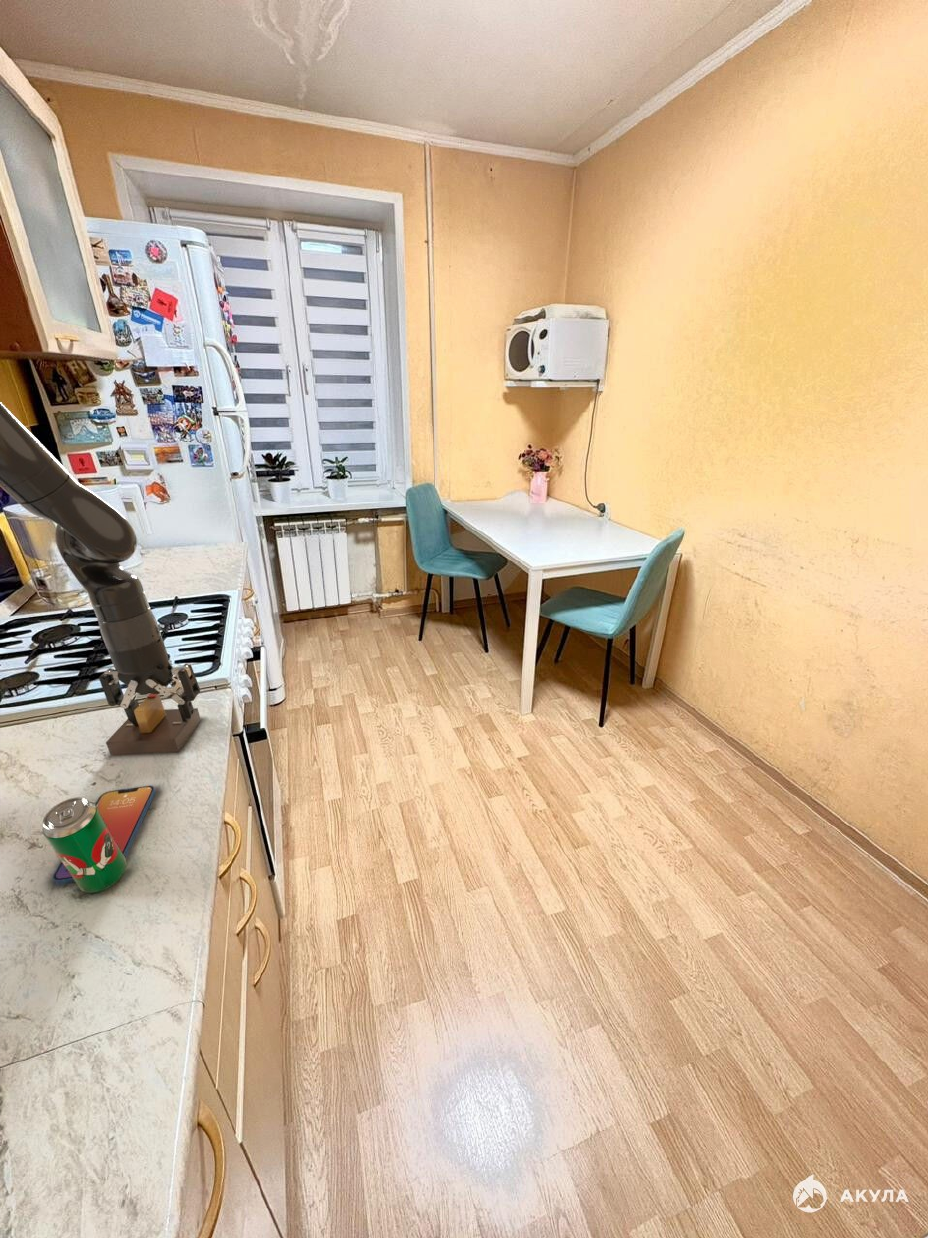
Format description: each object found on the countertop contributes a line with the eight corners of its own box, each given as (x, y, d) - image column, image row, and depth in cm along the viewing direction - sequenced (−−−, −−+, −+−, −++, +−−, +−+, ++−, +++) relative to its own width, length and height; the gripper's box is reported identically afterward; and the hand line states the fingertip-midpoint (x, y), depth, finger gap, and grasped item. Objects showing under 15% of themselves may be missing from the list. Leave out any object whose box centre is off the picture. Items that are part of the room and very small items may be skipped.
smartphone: (51, 888, 61) (48, 882, 60) (103, 797, 74) (101, 792, 74) (118, 876, 62) (116, 871, 62) (158, 789, 75) (156, 784, 75)
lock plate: (111, 757, 83) (105, 741, 81) (139, 724, 91) (134, 709, 90) (179, 753, 83) (174, 738, 82) (201, 721, 91) (197, 707, 90)
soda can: (124, 849, 65) (90, 787, 59) (131, 879, 62) (96, 816, 55) (77, 872, 62) (37, 809, 56) (82, 904, 59) (39, 841, 53)
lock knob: (150, 733, 83) (142, 709, 82) (141, 733, 83) (133, 709, 82) (166, 715, 88) (159, 692, 86) (157, 715, 88) (149, 692, 86)
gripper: (72, 652, 76) (109, 737, 83) (168, 646, 76) (196, 731, 83) (101, 630, 82) (133, 711, 89) (189, 624, 83) (214, 705, 90)
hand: (163, 720), depth 86 cm, fingers open, 8 cm apart
